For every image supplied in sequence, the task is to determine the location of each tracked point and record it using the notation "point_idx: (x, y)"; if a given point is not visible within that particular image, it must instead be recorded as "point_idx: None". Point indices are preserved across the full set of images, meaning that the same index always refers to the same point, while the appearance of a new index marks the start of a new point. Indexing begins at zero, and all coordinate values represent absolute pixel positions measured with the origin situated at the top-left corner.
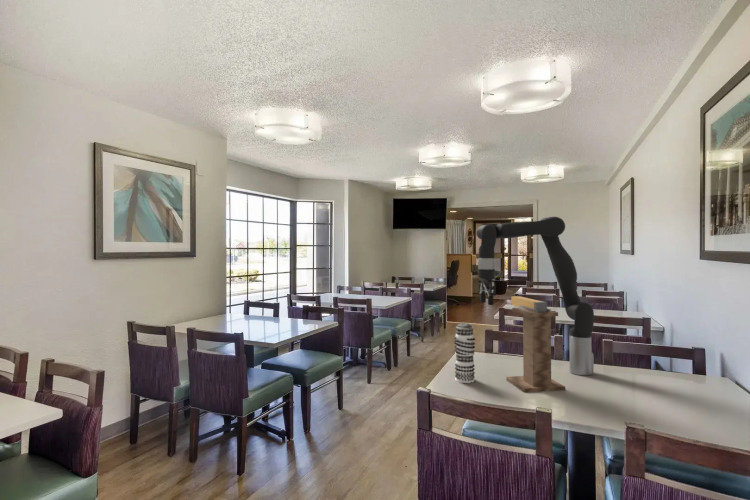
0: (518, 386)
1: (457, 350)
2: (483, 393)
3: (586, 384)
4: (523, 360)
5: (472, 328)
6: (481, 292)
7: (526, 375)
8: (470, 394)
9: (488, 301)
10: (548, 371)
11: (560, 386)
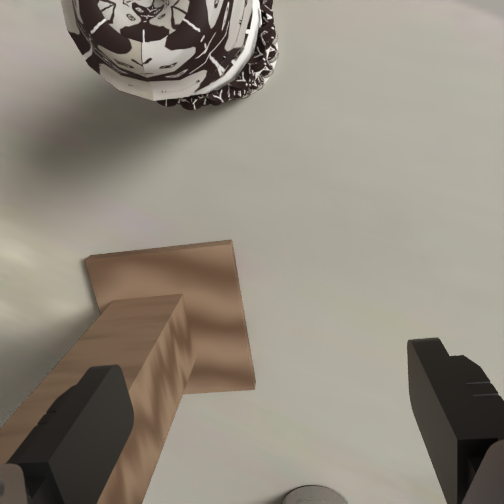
0: (127, 253)
1: None
2: (59, 95)
3: (190, 469)
4: (159, 334)
5: (97, 71)
6: (470, 499)
7: (152, 307)
8: (39, 34)
9: (72, 393)
10: None
11: None
